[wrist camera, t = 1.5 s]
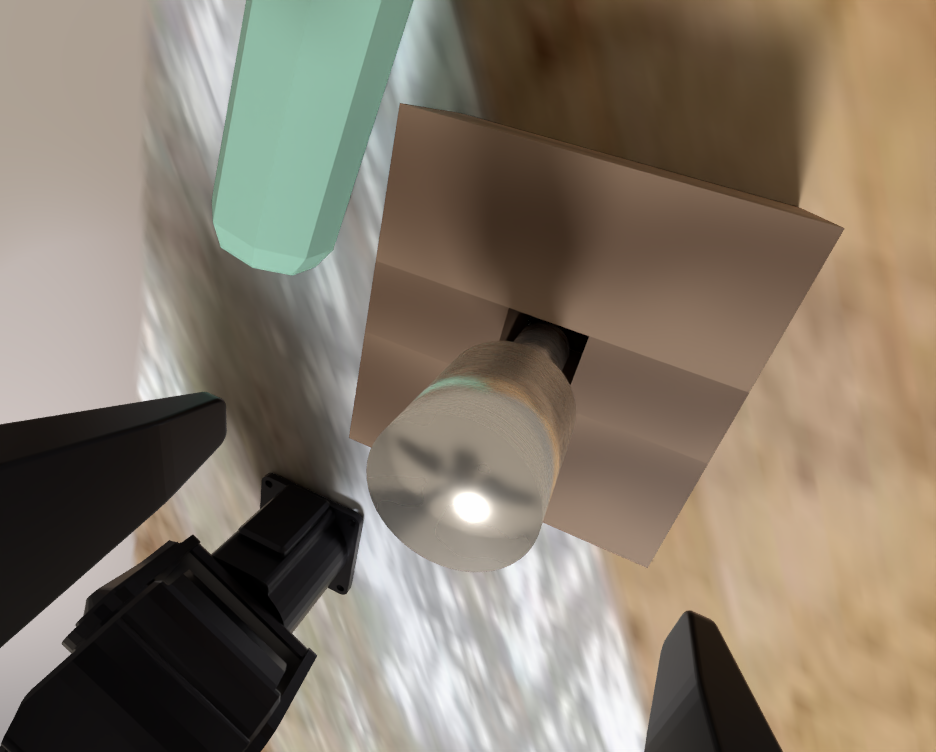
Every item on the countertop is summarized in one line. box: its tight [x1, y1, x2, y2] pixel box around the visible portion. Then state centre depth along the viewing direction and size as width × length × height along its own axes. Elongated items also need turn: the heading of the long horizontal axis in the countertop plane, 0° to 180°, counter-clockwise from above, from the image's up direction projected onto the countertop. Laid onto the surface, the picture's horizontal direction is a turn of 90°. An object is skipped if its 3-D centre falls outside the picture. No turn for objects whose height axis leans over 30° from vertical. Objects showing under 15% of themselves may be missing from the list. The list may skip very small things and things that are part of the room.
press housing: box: [349, 103, 844, 568], centre depth 18 cm, size 12×12×5 cm
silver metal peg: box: [367, 322, 576, 572], centre depth 14 cm, size 4×4×8 cm
